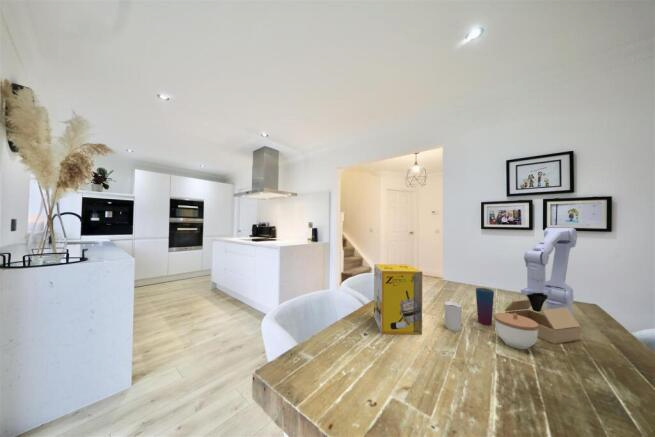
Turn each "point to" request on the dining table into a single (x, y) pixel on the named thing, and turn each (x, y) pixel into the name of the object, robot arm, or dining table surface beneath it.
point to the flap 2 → (560, 318)
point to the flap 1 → (519, 305)
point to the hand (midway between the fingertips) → (536, 310)
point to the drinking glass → (453, 315)
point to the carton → (550, 328)
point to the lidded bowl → (516, 330)
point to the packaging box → (398, 299)
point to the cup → (484, 305)
